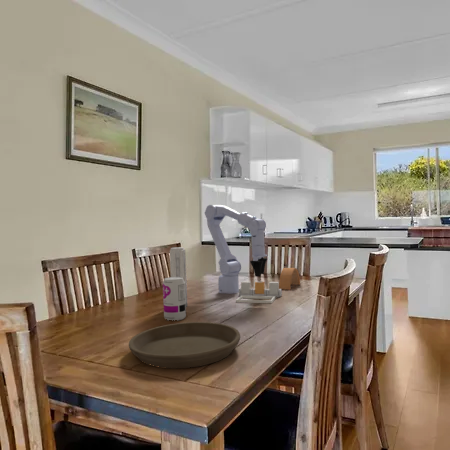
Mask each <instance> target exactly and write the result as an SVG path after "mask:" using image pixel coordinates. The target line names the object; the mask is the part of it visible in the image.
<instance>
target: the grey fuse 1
mask: <svg viewBox="0 0 450 450" xmlns="http://www.w3.org/2000/svg"><path fill="white" fill-rule="evenodd" d="M240 288H241V293H245V294H250V289H252V283H251V281H241V282H240Z"/></svg>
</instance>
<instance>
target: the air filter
mask: <svg viewBox="0 0 450 450" xmlns="http://www.w3.org/2000/svg"><path fill="white" fill-rule="evenodd" d="M169 266H170V267H169V268H170V277H183V279H184V281H185V300H186V308H188V287H187V286H188V285H187V283H188V281H187V261H186V249H185V247H183V246H181V247H180V246H179V247H170V249H169Z"/></svg>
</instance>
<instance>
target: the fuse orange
mask: <svg viewBox="0 0 450 450" xmlns="http://www.w3.org/2000/svg"><path fill="white" fill-rule="evenodd" d="M265 282H266V281H260V280H259V281H255V282H254V288H255V294H264V290H265V289H266V288H265V287H266V286H265V285H266V284H265Z"/></svg>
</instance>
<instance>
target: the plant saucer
mask: <svg viewBox="0 0 450 450" xmlns="http://www.w3.org/2000/svg"><path fill="white" fill-rule="evenodd" d="M240 340H241V333H240V332H239V330H238V329H237V328H235V327H234V326H231V325H228V324H226V323H225V324H224V323H219V322H211V321H208V322H207V321H190V322H189V321H187V322H178V323H171V324H170V323H169V324H164V325H161V326H160V325H159V326H156V327H152V328H149V329H146V330H143V331H140V332H139V333H137V334H136V335H134V336H133V337H132V338H131V339H130V340H128V347H129V349H130V351H131V353H132V354H133V355H134V356H135V357H137V359H138V360H139V361H140V362H142V361H143V362H145V363H147V364H146V365H148V364H151V365H154V366H159V367H158V368H160V367H166V368H165V369H189V368H190V367H191V368H197V367H202V366H207V365H211V364H214V363H216V362H217V363H218V362H220V361H221V360H223V359H225V358H226V357H228V356H229V355H231V353H232V352H233V350H235V348H236V347H237V346H238V344H239V342H240ZM143 362H142V363H143ZM145 363H144V364H145ZM154 366H153V367H154Z"/></svg>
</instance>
